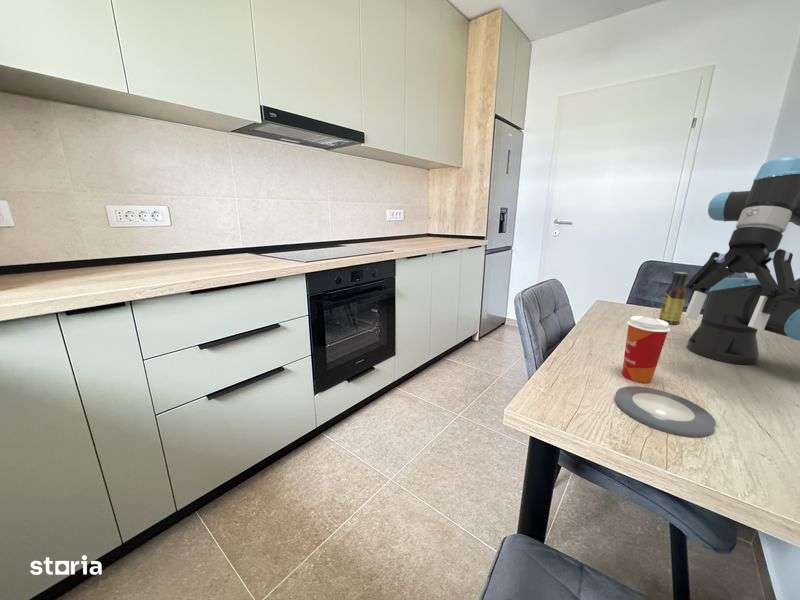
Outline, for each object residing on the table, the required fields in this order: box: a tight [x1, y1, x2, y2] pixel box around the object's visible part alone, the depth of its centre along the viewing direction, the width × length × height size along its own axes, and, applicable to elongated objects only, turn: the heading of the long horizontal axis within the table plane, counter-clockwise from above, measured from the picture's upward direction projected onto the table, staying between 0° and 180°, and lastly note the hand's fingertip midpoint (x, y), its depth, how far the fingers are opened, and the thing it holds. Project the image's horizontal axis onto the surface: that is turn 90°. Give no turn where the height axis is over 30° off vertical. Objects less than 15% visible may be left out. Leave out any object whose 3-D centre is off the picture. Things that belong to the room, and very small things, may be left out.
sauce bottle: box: [659, 271, 689, 326], centre depth 122 cm, size 6×6×20 cm
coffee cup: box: [621, 315, 671, 384], centre depth 78 cm, size 8×8×15 cm
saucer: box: [614, 385, 717, 438], centre depth 66 cm, size 16×16×1 cm
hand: (719, 322), depth 72 cm, fingers open, 13 cm apart
